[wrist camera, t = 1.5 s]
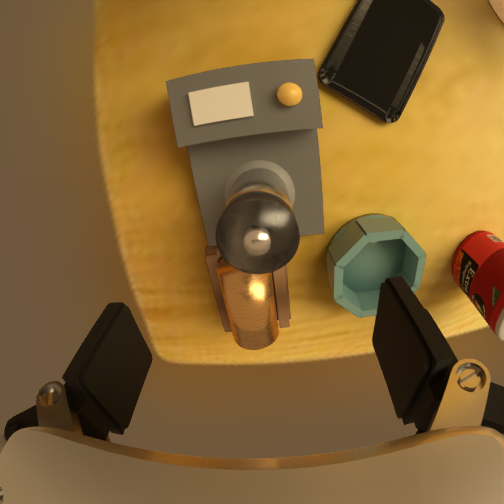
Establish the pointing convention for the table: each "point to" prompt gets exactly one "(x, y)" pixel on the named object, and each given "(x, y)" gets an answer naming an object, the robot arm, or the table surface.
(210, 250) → the walnut trough
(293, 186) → the checker
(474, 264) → the canned food
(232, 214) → the grey cell
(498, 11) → the cup
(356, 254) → the teal cup
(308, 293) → the table surface
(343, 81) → the phone
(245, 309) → the copper cell
